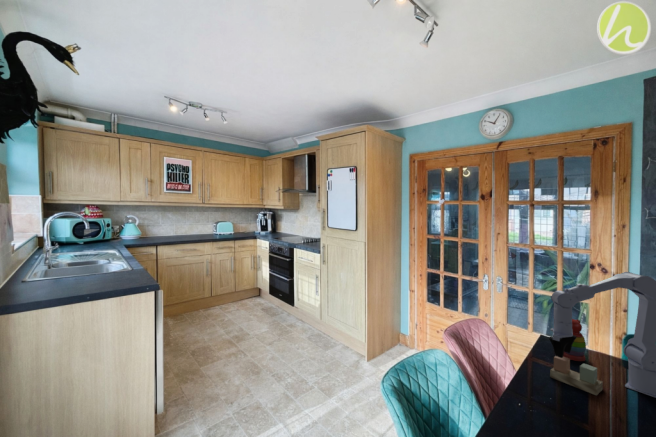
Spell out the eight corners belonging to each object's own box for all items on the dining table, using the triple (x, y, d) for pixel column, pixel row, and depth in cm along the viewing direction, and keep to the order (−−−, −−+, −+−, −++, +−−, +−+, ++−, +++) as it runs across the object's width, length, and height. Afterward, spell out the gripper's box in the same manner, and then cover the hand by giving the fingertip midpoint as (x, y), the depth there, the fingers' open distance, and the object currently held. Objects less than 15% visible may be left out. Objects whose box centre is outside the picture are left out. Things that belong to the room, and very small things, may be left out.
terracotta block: (569, 371, 112) (569, 358, 112) (566, 373, 110) (566, 361, 110) (557, 366, 115) (557, 354, 115) (553, 369, 113) (553, 357, 113)
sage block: (597, 381, 105) (597, 367, 105) (593, 384, 103) (593, 370, 103) (583, 376, 108) (583, 363, 108) (579, 379, 106) (579, 366, 106)
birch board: (602, 389, 105) (602, 381, 105) (596, 395, 101) (596, 387, 101) (557, 372, 117) (557, 364, 117) (550, 377, 113) (550, 369, 113)
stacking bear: (575, 352, 135) (575, 315, 135) (593, 362, 125) (593, 323, 125) (552, 350, 136) (552, 314, 136) (567, 361, 126) (567, 322, 126)
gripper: (557, 315, 120) (557, 346, 120) (543, 321, 112) (543, 354, 112) (578, 320, 114) (579, 353, 114) (565, 327, 106) (565, 362, 106)
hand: (562, 354), depth 112 cm, fingers open, 7 cm apart
